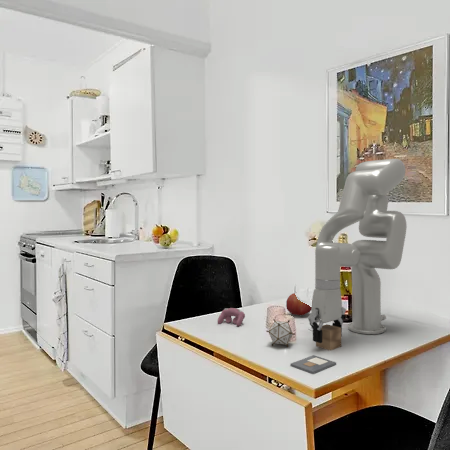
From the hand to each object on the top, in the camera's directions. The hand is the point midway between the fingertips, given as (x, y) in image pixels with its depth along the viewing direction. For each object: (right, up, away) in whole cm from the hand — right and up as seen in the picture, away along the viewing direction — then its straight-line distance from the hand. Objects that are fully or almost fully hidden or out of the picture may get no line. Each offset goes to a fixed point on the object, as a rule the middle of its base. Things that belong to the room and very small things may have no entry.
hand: (327, 339), depth 136 cm
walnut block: (0, -3, +1) cm, 3 cm away
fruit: (-2, -1, +38) cm, 39 cm away
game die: (-14, -3, +3) cm, 15 cm away
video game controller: (-30, -2, +29) cm, 41 cm away
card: (-8, -3, -15) cm, 17 cm away
